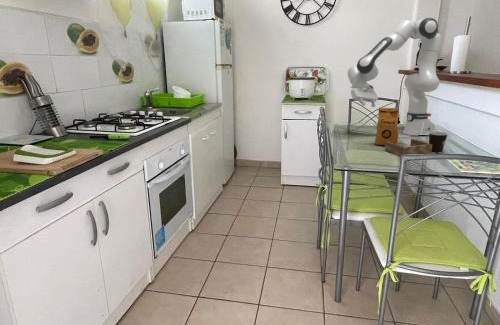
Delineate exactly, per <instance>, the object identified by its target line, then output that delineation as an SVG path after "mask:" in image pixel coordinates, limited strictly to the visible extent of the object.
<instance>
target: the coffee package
mask: <svg viewBox="0 0 500 325" xmlns="http://www.w3.org/2000/svg"><path fill="white" fill-rule="evenodd" d="M377 117H378V118H377V123H376V135H375V139H374V144H375V145H377V146H384V147H385V145H386V142H390V143H393V144H396V145H398V139H399V131H398V123H399V122H398V121H399V108H397V107H393V108H392V107H391V108H390V107H378V114H377Z"/></svg>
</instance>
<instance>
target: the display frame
mask: <svg viewBox="0 0 500 325" xmlns="http://www.w3.org/2000/svg"><path fill="white" fill-rule="evenodd" d="M409 145H410V146H402V145H399V144H397V145H396V144H393V143H390V142H386V145H385V146H384V151H385V152H388V153H390V154H393V155H397V156H398V157H401V155H405V154H424V155H429V154H428V153H431V154H432V152H431V151H432V144H429V142H425V141H423V140H422V141H421V140H418V139H415V138H411V139H410V143H409Z"/></svg>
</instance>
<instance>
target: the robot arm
mask: <svg viewBox="0 0 500 325" xmlns="http://www.w3.org/2000/svg"><path fill="white" fill-rule="evenodd" d="M438 28H439V24H438V21H437V20H436V19H435V18H433V17H426V18H421V19H419V20H416V21H412V20H410V19H403V20H402V21H400V22H399V23H398V24H397V25H396V26H395V27H394V28H392V30H391V31H390V33H388V34H387V36H385V37H383V39H381V40H380V41H378V43H377V44H376V45H375V46H374V47H373V48H372V49H371V50H370V51H369V52H368V53H367V54H365V55H364V56H363V57H361V58H360V59H358V61H357V63H356V64H355V65H354V64H353V65H352V66H351V67H349V68H348V70H347V77H348V80H349V82H350V84H351V86H350V87H349V88H350V94H351V97H352V99H353V101H358V103H360V105H361V106H362V107H364V106H366V103H367V102H368V103H370V104H371V108H375V107H376V102H377V101H378V99H379V98H378V95H377V93H376V91H375V90H374V89H375V87H374V86H373V85H371V84H369V83H368V82H369V81H372V80H375V79H376V77H377V76H378V75H379V69H378V67H377V66H376V62H377V60H378V58H379V57H380V56H382V55H383V53H384V52H385V51H388V50H389V51H392V52H393V51H394V52H395V51H398V50H399V49H401V48H402V47H403V46H404V45H405V44H406V42H407V41H408V40H409V39H414V40H418V39H420V40H421V46H420V49H419V53H418V56H417V59H416V64H417V66H418V73H413V74H409V75H408V76H406V77H405V79H404V83H403V84H404V87H405V88H406V90H407V93H408V109H407V112H406V120H405V125H404V128H403V130H402V133H403V134H404V135H408V136H418V135H428V134H429V133H430V132H433V131H436V129H435V128H436V126H435V124H434V123H433V121H431V120H430V119H429V117H432V113H429V112H427V111H428V110H427V109H428V103H429V100H428V99H427V97H426V94H425V93H429V92H433V91H435V90H437V89H438V88H439V86H440V79H439V77H438V76H437V62H438V58H439V55H440V51H441V45H442V35H441V34H440V33H439V29H438Z"/></svg>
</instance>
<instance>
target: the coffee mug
mask: <svg viewBox="0 0 500 325" xmlns="http://www.w3.org/2000/svg"><path fill="white" fill-rule="evenodd" d="M447 137H448V133H446V132H441V131H437V132H430V133H429V136H428V143H429V144H432V151H431V153H432V152H442V153H443V151H444V147H445V144H446V140H447Z"/></svg>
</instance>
